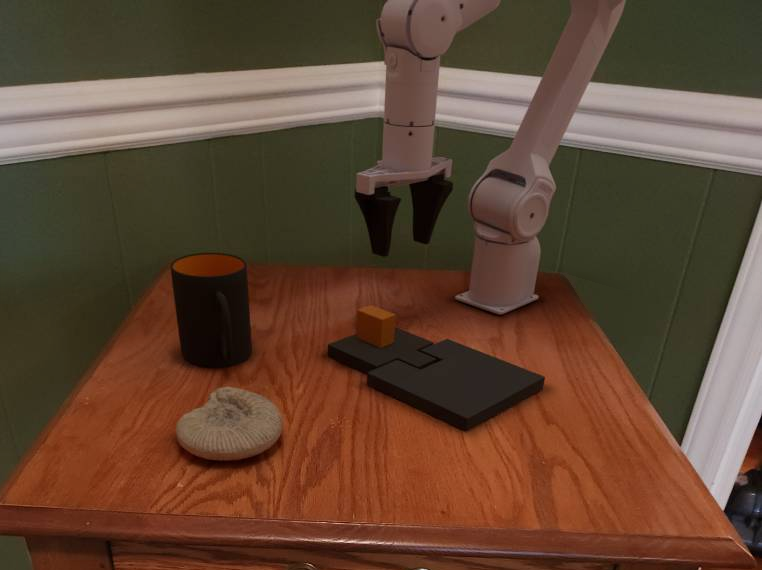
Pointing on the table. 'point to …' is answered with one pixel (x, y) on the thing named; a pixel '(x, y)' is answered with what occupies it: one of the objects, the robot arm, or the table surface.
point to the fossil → (230, 426)
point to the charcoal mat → (457, 384)
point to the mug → (212, 309)
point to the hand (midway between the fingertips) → (401, 248)
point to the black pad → (382, 355)
